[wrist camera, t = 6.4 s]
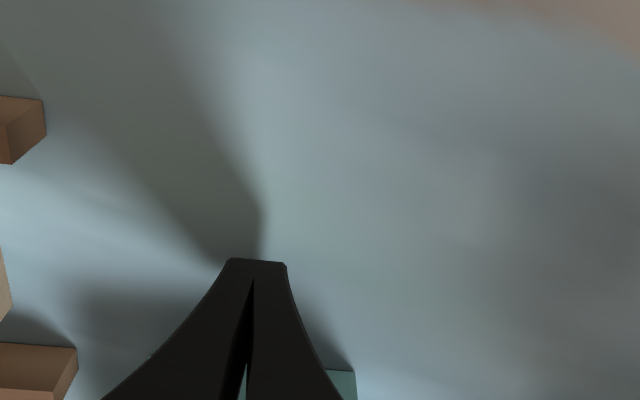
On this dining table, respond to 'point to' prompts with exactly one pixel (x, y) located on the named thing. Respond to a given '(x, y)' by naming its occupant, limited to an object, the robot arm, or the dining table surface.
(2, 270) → the stub
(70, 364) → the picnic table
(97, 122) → the dining table surface
